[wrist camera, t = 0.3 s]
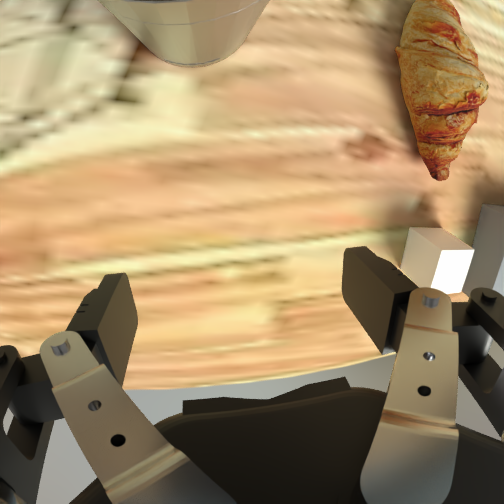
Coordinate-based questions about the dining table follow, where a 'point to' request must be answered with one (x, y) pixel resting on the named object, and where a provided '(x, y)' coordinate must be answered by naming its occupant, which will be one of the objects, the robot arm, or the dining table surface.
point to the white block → (436, 259)
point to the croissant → (439, 82)
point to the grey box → (487, 252)
